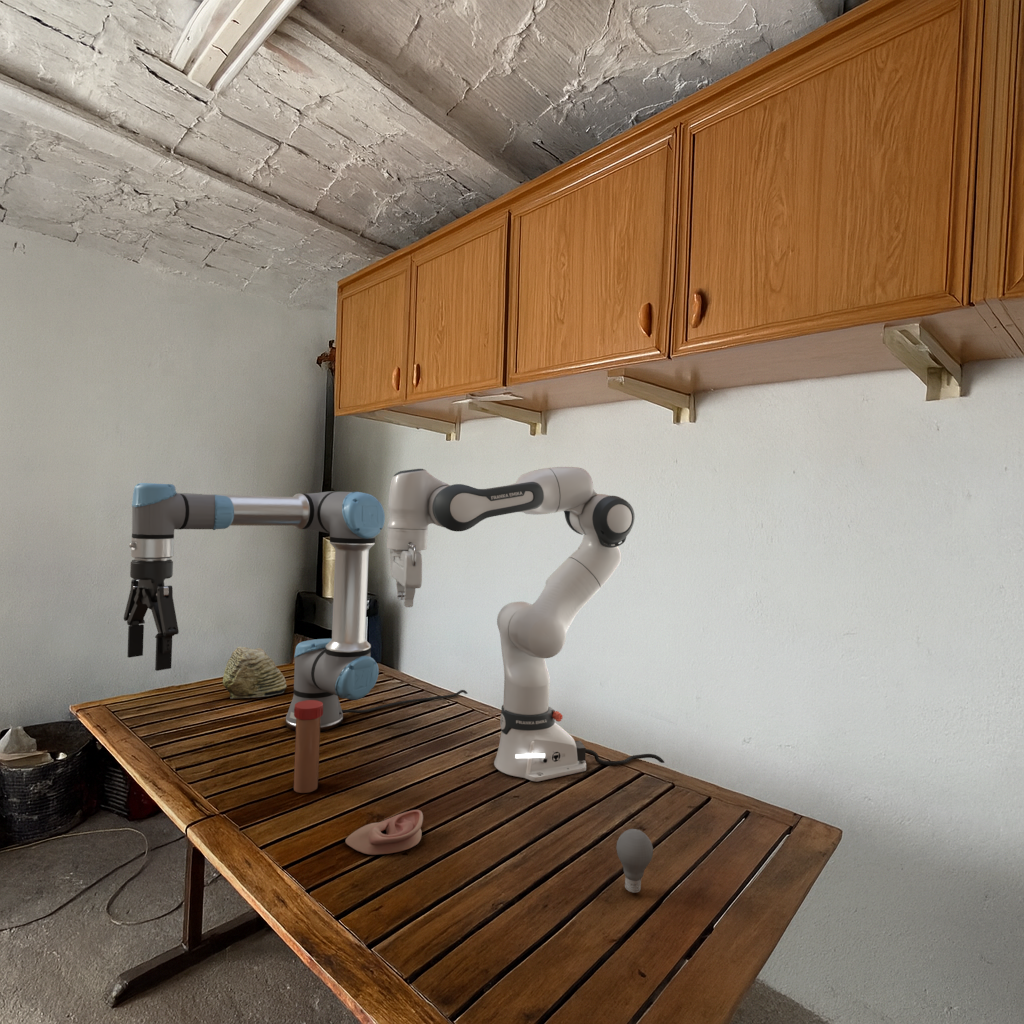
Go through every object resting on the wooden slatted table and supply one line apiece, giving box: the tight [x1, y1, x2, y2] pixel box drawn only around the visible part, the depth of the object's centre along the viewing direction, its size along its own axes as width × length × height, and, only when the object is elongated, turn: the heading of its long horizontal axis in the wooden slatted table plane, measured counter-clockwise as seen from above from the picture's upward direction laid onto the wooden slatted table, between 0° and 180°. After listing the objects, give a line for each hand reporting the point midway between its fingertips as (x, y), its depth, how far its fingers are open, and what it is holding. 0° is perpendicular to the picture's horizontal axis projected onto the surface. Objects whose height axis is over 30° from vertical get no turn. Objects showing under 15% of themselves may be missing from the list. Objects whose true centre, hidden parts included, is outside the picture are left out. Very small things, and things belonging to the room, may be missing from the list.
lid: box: [294, 700, 323, 720], centre depth 137 cm, size 6×6×2 cm
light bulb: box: [615, 828, 654, 894], centre depth 106 cm, size 6×6×10 cm
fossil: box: [222, 646, 288, 699], centre depth 198 cm, size 9×18×15 cm, turn 132°
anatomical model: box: [344, 809, 424, 856], centre depth 118 cm, size 13×4×12 cm
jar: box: [293, 717, 321, 794], centre depth 137 cm, size 5×5×18 cm
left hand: (148, 662), depth 129 cm, fingers open, 13 cm apart
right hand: (404, 603), depth 141 cm, fingers open, 8 cm apart
